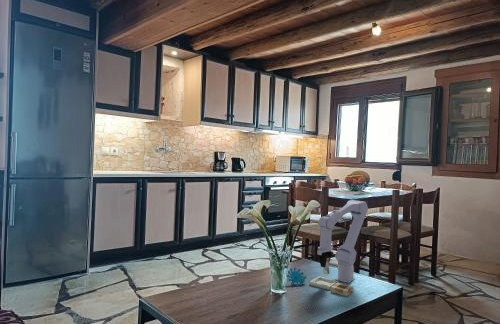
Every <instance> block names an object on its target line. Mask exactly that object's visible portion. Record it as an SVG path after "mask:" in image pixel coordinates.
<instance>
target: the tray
mask: <svg viewBox="0 0 500 324" xmlns="http://www.w3.org/2000/svg"><path fill="white" fill-rule="evenodd" d="M337 283H339V280H335V279H332V278H327V277H323V276H319V275H318V276H317V277H315V278H313V279H312V280H310V281H309V286H311V287H316V288H319V287H320V289H323V290H326V289H327V290H326V291H331V290H330V289H331V287H332V286H333V285H335V284H337Z"/></svg>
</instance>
